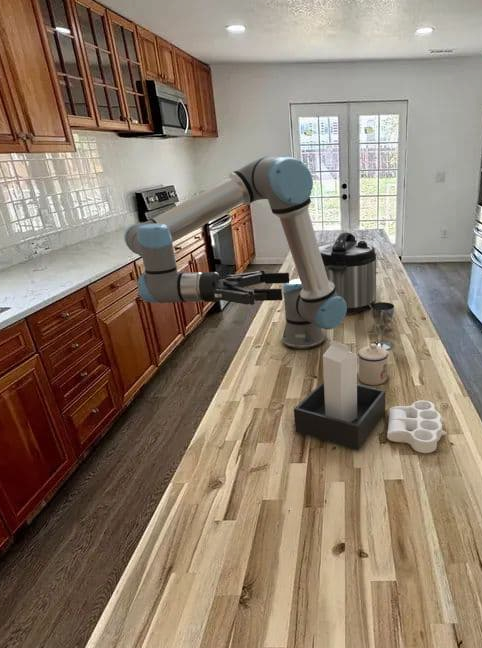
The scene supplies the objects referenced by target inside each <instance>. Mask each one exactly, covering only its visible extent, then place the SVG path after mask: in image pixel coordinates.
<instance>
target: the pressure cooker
mask: <svg viewBox="0 0 482 648" xmlns="http://www.w3.org/2000/svg"><path fill="white" fill-rule="evenodd" d="M318 246H319V245H318ZM319 250H320V253H321V257H322V260H323V264H324V267H325V271H326V274H327V278H328V280H329V281H332V282H333V283H334V285H335V289H336V292H337V295H338V296H340V297H342V298H343V299H344V300H345V302H346V305H347V312H346V314H357V313H360V312H361V311H366V310H371V307H370V306H369V305H372V304H374V303H376V301H377V253H376V250H375V247H374V246H373V245H369V244H368V243H367V241H365V240H359V241H357V239H356V237H355V235H354V234H353V233H351V232H345V231H344V232H342V233H340V234H339V235H338V237H337V238H336V240H335V242H334V243H329V244H324V245H320V246H319Z"/></svg>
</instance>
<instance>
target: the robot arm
mask: <svg viewBox="0 0 482 648" xmlns="http://www.w3.org/2000/svg"><path fill="white" fill-rule="evenodd" d="M313 186H314V180H313V175H312V173H311V171H310V169H309V167H308V166H307V165H306V164H305V163H304V162H303V161H301V159H298V158H296V157H295V158H294V157H291V156H262V157H259V158H256V159H254V160H252V161H251V162H249V163H247V164H245V165H243V166H241V167H240V168H238V169H236V170H234V171H232V172H230V173H229V175H228V178H227V179H225V180H223V181H221V182H220V183H217V184H215V185H214V186H212V187H210V188H208V189H206V190H205V191H202V192H201V193H199V194H197V195H194V196H193V197H191V198H189V199H187V200H185V201H184V202H181V203H180V204H177V205H176V206H174V207H172V208H170V209H169V210H167V211H164V212H162V213H161V214H158V215H156V216H155V217H153V218H151V219H149V220H147V221H145V222H143V223H141V224H138V223H137V224H132V225H130V226H128V227H127V229H126V230H125V232H124V234H123V240H124V242H125V243H124V244H125V246H126V247H127V248H128V250H129V251H131V252H132V253H134V254H136V255H138V256H140V257H141V258H142V263H143V266H144V271H145V273H142V274H141V275H139V277H138V280H137V286H138V287H137V291H138V295H139V297H140V298H141V300H142V301H144V302H146V303H155V304H171V303H172V304H173V303H192V304H193V305H195V304H197V303H203V302H204V303H217V302H220V301H224V302H230V303H235V304H241V305H246V306H247V305H250V306H254V305H255V302H266V301H267V302H269V301H272V302H273V301H284V312H285V326H284V329H283V333H282V344H283V345H284V347H287V348H290V349H295V350H307V349H314V348H316V347H318V346H320V345H322V344H323V343H324V341H325V334H324V331H323V330H333V329H336V328H337V327H339V326H340V325H341V324H342V322H343V321H344V318H345V317H346V316H347V313H346V312H347V305H346V302H345V300H344V299H343V298H342V297H340V296H338V295H337V292H336V289H335V285H334V283H333V282H332V281H329V280H328V278H327V274H326V271H325V267H324V264H323V260H322V257H321V253H320V250H319V243H318V240H317V235H316V233H315V229H314V226H313V222H312V220H311V215H310V212H309V207H310V205H311V203H312V199H311V195H312V190H313V189H314V188H313ZM260 200H267V201H268V204H269V207H270V211H271V213H272V214H273V215H274V216H276V217H278V218H279V221H280V224H281V227H282V230H283V233H284V235H285V238H286V241H287V245H288V248H289V251H290V254H291V257H292V260H293V262H294V266H295V269H296V272H297V276H298V278H297V279H296V278H295V279H291V280H290V272H266V271H265V269H261V270H257V271H251V272H243V273H237V274H226V277H225V278H221V277H220V275H219V273H218V272H216V271H206V272H205V271H204V272H200V271H197V272H192V271H191V272H178V265H177V262H176V261H177V260H176V254H175V249H174V244H173V243H174V242H175V241H177V240H178V239H180V238H182V237H184V236H186V235H187V234H189V233H191V232H193V231H195V230H197V229H198V228H200V227H202V226H204V225H206V224H207V223H209V222H212V221H213V220H215V219H217V218H219V217H221V216H222V215H224V214H227V213H228V212H230V211H231V210H233V209H235V208H237V207H238V206H240V205H242V204H243V205H246V206H247V205H250V204H252V203H254V202H256V201H260ZM260 284H264V285H268V284H269V285H270V284H272V285H273V284H284V285H283V290H282V288H254V289H253V290H251V289H249V288H246V287H251V286H254V285H260Z"/></svg>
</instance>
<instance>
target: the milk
mask: <svg viewBox="0 0 482 648" xmlns="http://www.w3.org/2000/svg"><path fill="white" fill-rule="evenodd" d="M322 369H323V372H322V373H323V381H324V396H325V416H329V417H332V418H336V419H340V420H343V421H347V422H350V423H351V422H352V421H354V420H355V419H357V384H358V353H354V352H352V351H350V347H349V345H346V344H344V343H341V342H338V341H336V340H333V339H331V340H330V345H329V347H328V348H327V349H326V351H325V352H324V353H323V355H322Z"/></svg>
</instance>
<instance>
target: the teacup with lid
mask: <svg viewBox="0 0 482 648" xmlns="http://www.w3.org/2000/svg"><path fill="white" fill-rule="evenodd" d="M357 357H358V379H359V381H360V382H361V383H363V384H366V385H368V386H379V385H381V384H384V383H385V382H386V381H387V380H388V357H389V352H388V349H384V348H382V347H379V346H377V345H376V344H373V343H370V344H369V345H367V346H364V347H362V348H360V350H358V353H357Z"/></svg>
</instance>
